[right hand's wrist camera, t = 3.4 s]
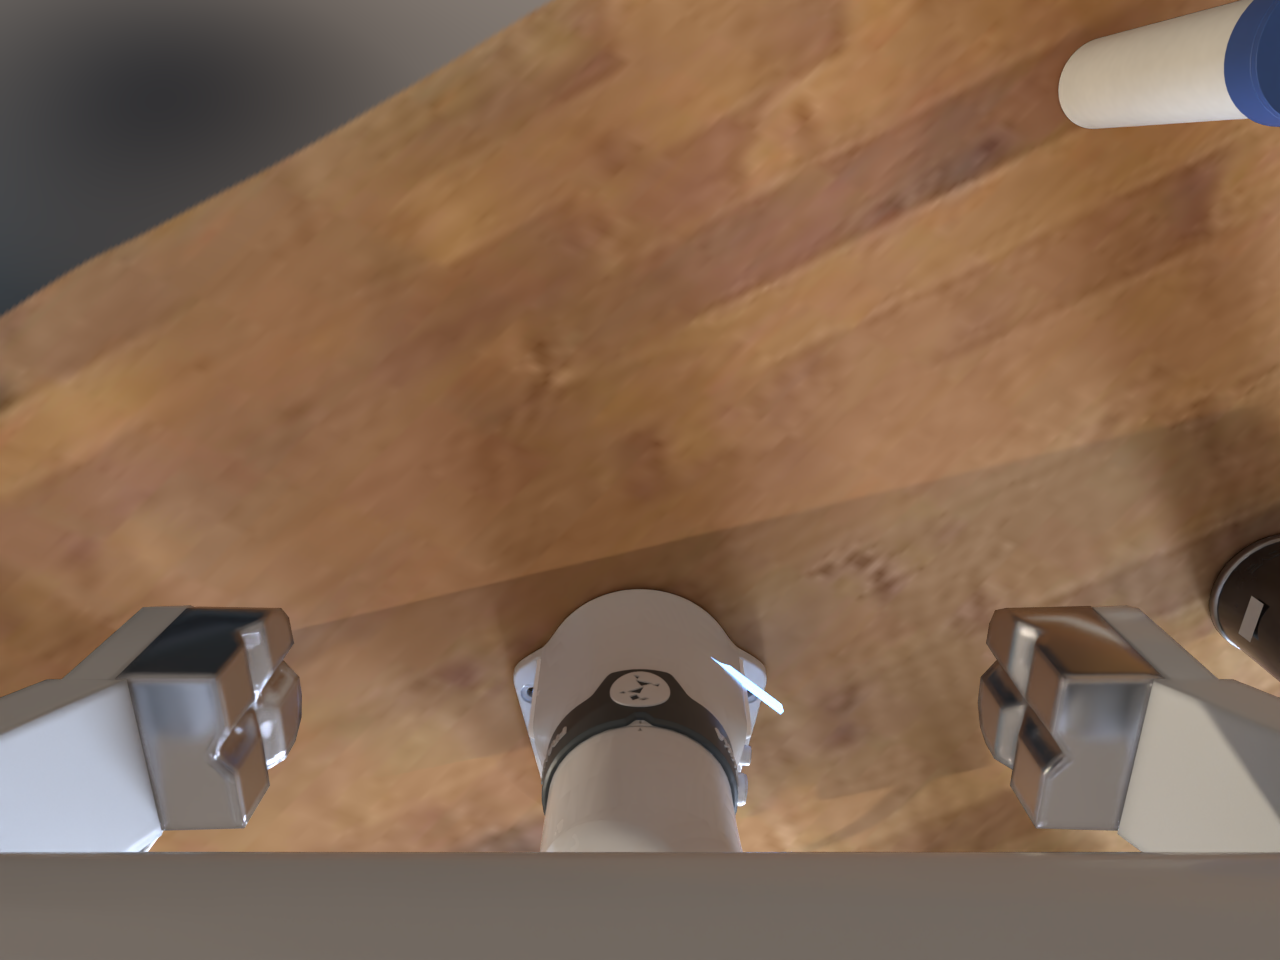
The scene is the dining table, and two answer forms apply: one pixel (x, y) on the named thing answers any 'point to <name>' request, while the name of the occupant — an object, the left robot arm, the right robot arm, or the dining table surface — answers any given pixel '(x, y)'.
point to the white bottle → (1153, 73)
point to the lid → (1255, 63)
